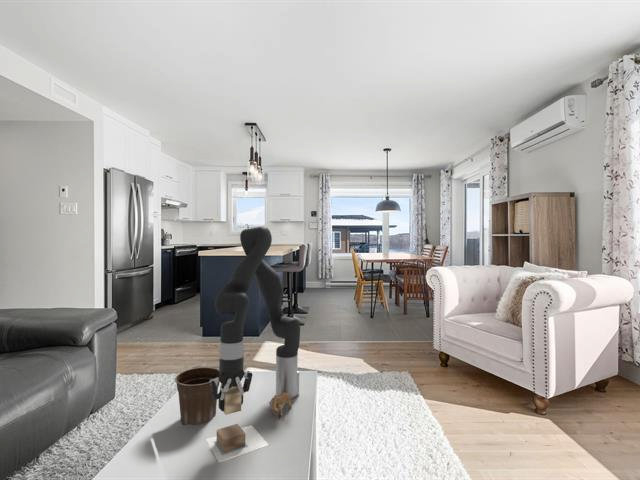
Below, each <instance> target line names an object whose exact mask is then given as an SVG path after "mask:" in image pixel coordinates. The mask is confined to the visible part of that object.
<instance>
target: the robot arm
mask: <svg viewBox="0 0 640 480" xmlns="http://www.w3.org/2000/svg"><path fill="white" fill-rule="evenodd" d="M239 234H240V235H239V238H240V239H239V240H240V243H241V248H242V250H243V252H244V254H245V257H244V258H243V259H242V260H241V261H240V262H238V264H237V265H236V267H235V268H234V270H233V273H232V274H231V277H230V280H229V281H228V282H227V283H226V285H225V286H224V287H223V288H222V289H221V290H220V292H219V293H218V294H217V296H216V299H215V300H214V308H215V310H216V312H217V313H218V314H220V315H228V316H229V315H230V316H232V315H233V316H235V317H234V319H233V320H228V321H225V322H223V323H221V326H220V339H219V341H220V342H219V343H220V344H219V358H218V360H219V361H218V362H219V363H218V365H219V366H218V370H219V375H218V377H217V378H215V379H210V380H209V384H210V388H211V392H212V396H213V397H214V398H215V399H216V400H217V401H218V403H217V404H218V406H217V407H218V409H219V410H220V411H221V412H223V411H224V404H225V400H224V397H225V394H226V393H227V390H228V388H231V387H236V388H238V390H239V391H241V407H242V405H243V404H244V394H245V393H247V392H249V391H250V387H251V383H252V378H253V373H252V372H251V371H250V370H247V371H244V362H245V361H244V360H245V359H244V358H245V357H244V355H245V348H244V326H245V321H246V316H247V314H248V310H249V306H250V298H249V296H248V295H247V294H246V293H248V291H249V289H250V288H251V285H252V282H253V279H254V277H255V279H256V282H257V285H258V289H259V290H260V294H261V296H262V298H263V302H264V305H265V307H266V310H267V314H268V318H269V321H270V326H271V330H272V332H273V334H274V336H275V337H276V338H279V339H284V342H283V343H284V344H282V345H279V346H278V347H277V348H276V351H275V396H278V397H280V396H281V395H282V394H283V393H288V394H289V397H290V399H293V398H296V397H297V396H299V395H300V371H298V363H299V361H298V359H299V356H298V351H299V348H300V341H301V324H300V321H299V320H298V318H296V317H290V316H286V315H285V313H284V312H283V308H282V300H283V297H284V286H283V283H282V281H281V278H280V275H279V274H278V272H277V271H276V270H275V269H274V268H273V267H272V266H270V265H269V264H268V263H267V262H266V261H264V258H265V257H266V255H267V253H268V251H269V250H270V248H271V245H272V240H273V237H272V233H271V231H270V229H269V227H266V226H257V227H251V228H245V229H243V230H242V231H241V232H240V233H239ZM243 378H244V381H243V385H242V382H241V381H242V379H243ZM218 381H220V385H219V390H218V393H217V388H216V386H217V384H218Z"/></svg>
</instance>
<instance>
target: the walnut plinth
mask: <svg viewBox="0 0 640 480" xmlns="http://www.w3.org/2000/svg"><path fill="white" fill-rule="evenodd" d="M242 428H243V427H241V426H240V424H238V423H234V424H231V425H227V426H224V427H221V428H218V429H216V436H217V443H218V445H219V447H220V448H221V450H222V451H223V453H226V452H228V451H231V450H234V449H237V448H240V447H243V446H245V432H244V431H243V430H242Z"/></svg>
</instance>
